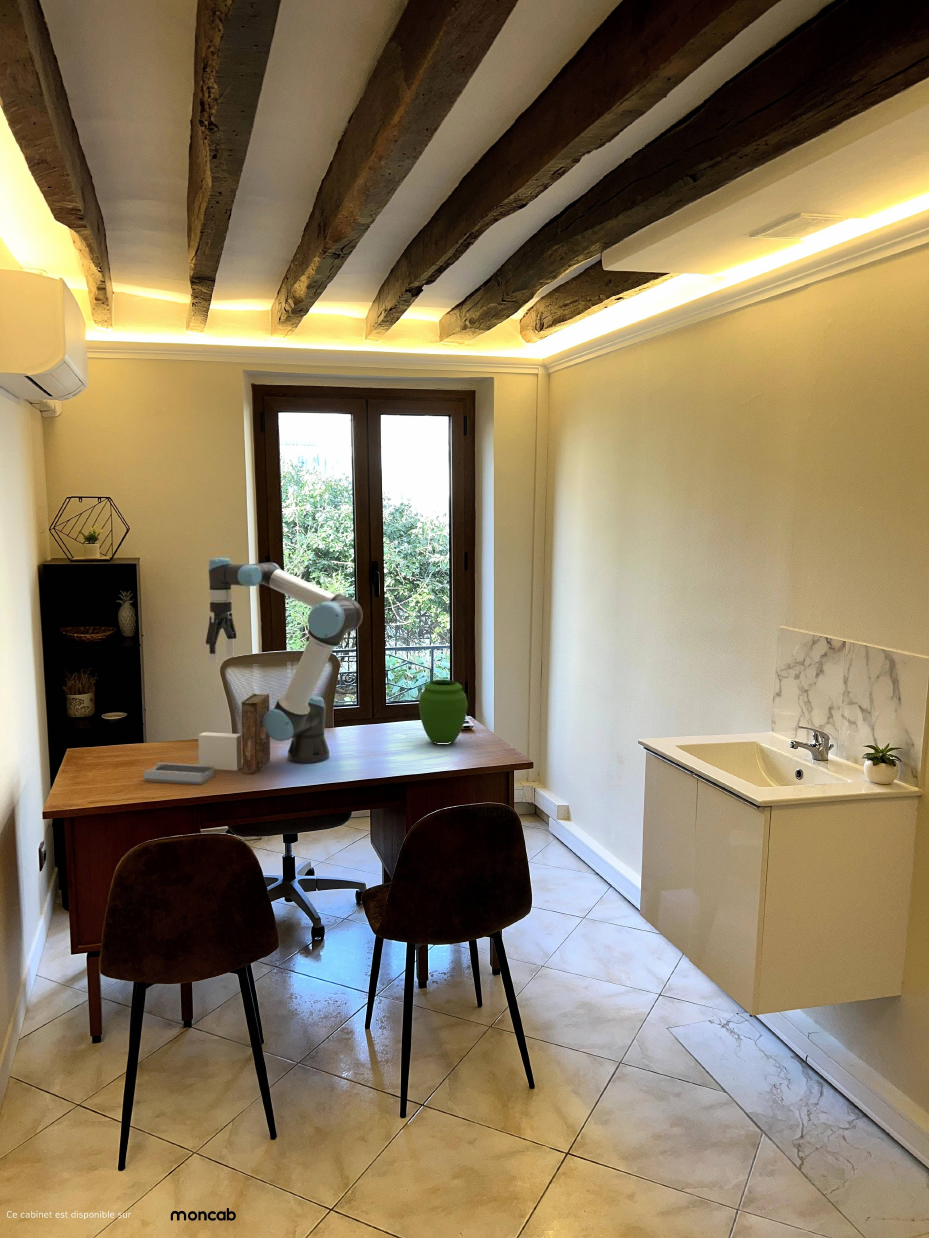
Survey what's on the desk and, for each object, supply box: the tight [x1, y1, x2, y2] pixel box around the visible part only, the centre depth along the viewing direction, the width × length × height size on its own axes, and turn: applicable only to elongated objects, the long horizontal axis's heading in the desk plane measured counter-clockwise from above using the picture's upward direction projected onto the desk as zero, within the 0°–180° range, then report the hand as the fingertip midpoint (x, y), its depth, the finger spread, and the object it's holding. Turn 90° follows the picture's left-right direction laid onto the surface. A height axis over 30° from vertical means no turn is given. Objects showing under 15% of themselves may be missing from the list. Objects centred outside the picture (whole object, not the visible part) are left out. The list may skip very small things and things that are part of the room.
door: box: [197, 731, 243, 772], centre depth 287 cm, size 14×4×12 cm, turn 81°
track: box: [143, 762, 215, 786], centre depth 275 cm, size 20×10×4 cm, turn 81°
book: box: [241, 692, 271, 775], centre depth 287 cm, size 16×6×25 cm, turn 178°
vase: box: [418, 679, 469, 743], centre depth 323 cm, size 20×20×24 cm
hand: (222, 659), depth 295 cm, fingers open, 13 cm apart
